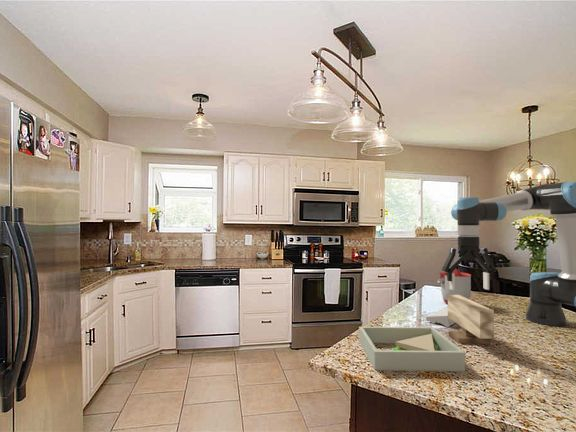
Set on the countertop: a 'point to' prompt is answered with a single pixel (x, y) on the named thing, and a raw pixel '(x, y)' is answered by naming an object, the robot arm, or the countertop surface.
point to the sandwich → (417, 344)
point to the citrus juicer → (460, 285)
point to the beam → (471, 316)
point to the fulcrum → (467, 337)
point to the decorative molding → (440, 317)
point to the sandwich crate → (440, 360)
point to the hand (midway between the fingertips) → (469, 289)
